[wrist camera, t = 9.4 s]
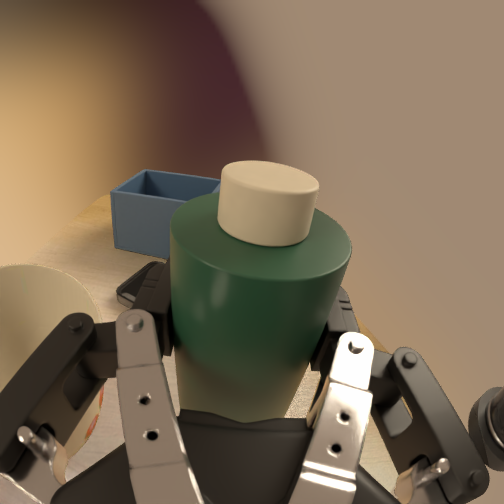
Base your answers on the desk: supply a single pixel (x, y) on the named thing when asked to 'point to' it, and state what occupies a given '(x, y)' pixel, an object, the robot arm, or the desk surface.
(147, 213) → the blue open storage bin
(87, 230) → the desk surface
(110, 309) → the desk surface
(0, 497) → the desk surface
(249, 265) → the bottle
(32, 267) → the bowl
